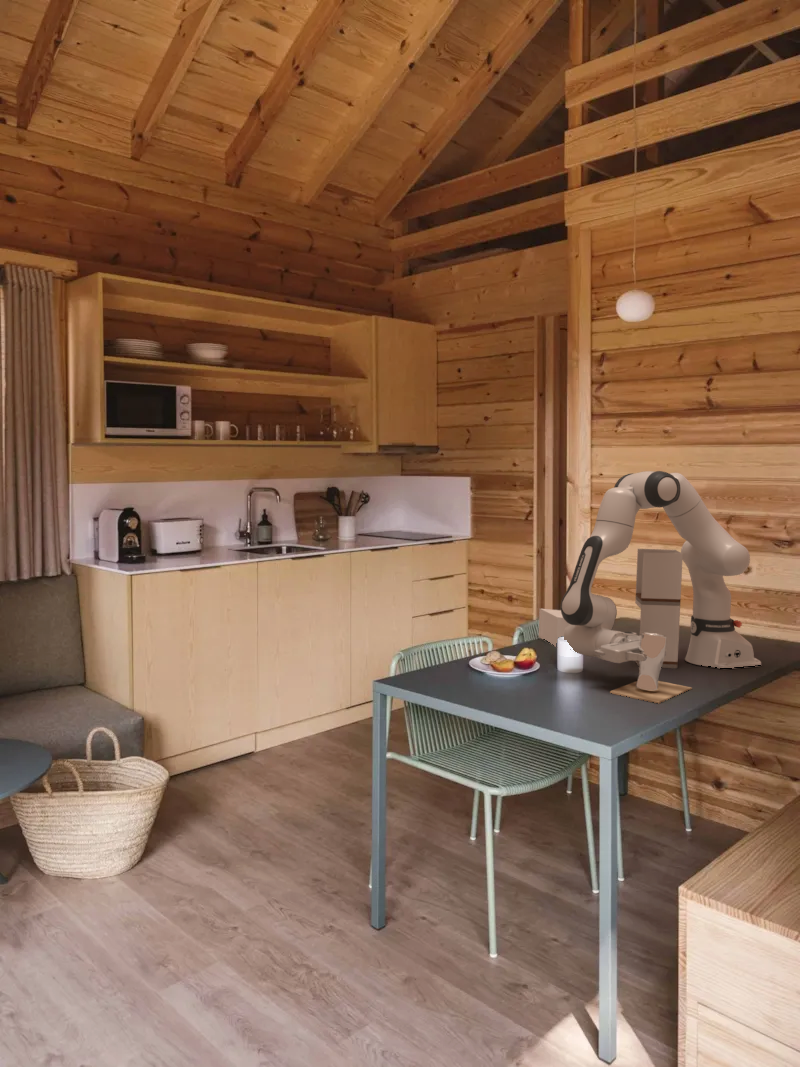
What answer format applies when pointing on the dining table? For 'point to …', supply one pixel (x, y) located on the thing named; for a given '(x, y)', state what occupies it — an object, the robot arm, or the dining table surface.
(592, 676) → the dining table surface
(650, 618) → the stacked tan pillar
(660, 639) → the beer glass
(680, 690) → the placemat
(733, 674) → the dining table surface
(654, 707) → the dining table surface
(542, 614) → the tan angular block
